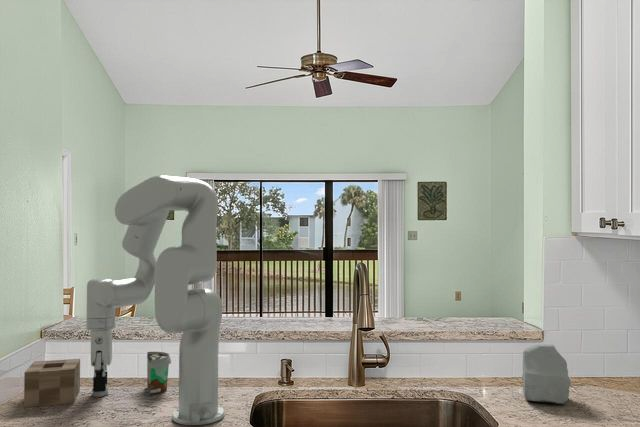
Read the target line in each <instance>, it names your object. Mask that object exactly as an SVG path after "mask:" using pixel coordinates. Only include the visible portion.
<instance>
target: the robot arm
mask: <svg viewBox="0 0 640 427" xmlns="http://www.w3.org/2000/svg"><path fill="white" fill-rule="evenodd" d="M170 211H185V212H188V213H187V215H186V216H185V218H184V220H183V222H182V226H181V244H180V245H173V246H169V247H167V248H165V249H163V251H161V252H160V254H159V255H158V257H157V259H156V258H155V255H154V252H155V249H156V246H157V244H158V241H159V239H160V236H161V234H162V231H163V229H164V226H165V224H166V222H167V219H168V217H169V213H170ZM218 213H219V200H218V196H217V193H216V191H215V189H214V188H213V187H212V186H211V185H210V184H209V183H207V182H205V181H204V180H200V179H197V178H194V177H193V178H192V177H184V176H173V175H172V176H171V175H162V174H161V175H154V176H151V177H149V178H147V179H145V180H143V181H142V182H140V183H137V184H136V185H135V186H132V187H131V188H129V189H128V190H126V191H125V192H124V193H122V194H121V195H120V196H119V198H118V199H117V201H116V203H115V206H114V216H115V218H116V220H117V221H118V222H119V223H120V224H122V225H125V226H127V229H126V232H125V234H124V237H123V238H122V241H121V247H122V248H123V249H124V251H125V252H127V253H128V254H129V255H131V256H133V257H135V258H138V266H137V267H138V268H137V269H136V270H137V271H136V272H135V275H134V277H129V278H120V279H112V278H92V279H89V280H88V281H87V285H86V330H87V331H90V365H91V367H93V377H92V378H93V379H92V381H93V382H92V385H93V386H92V389H93V391H92V393H93V392H101V391H105V390H106V385H107V386H108V370H107V369H106V371H105V367H106V368H108V367H109V366H110V365H111V363H112V361H113V335H112V334H113V332H112V330H113V329H116V309H117V308H123V307H129V306H135V305H140V304H142V303H144V302H146V300H147V299H148V298H149V297H150V295H151V293H152V291H153V289H154V315H155V320H156V322H157V326H158V327H159V328H160V329H161V331H163V332H164V333H168V334H179V333H182V334H181V337H180V342H179V347H178V348H179V350H178V352H179V354H178V355H179V356H178V408H177V409H175V410H174V411H173V412H172V414H171V418H172V421H174V422H175V423H177V424H179V425H184V426H202V425H203V426H204V425H209V424H214V423H216V422H218V421H220V420H222V419H223V418H224V416H225V409H224V408H222V407H221V406H220V405H219V347H220V346H219V344H220V343H219V340H220V329H221V323H222V318H223V310H224V309H223V307H224V306H223V302H222V299H221V297H220V295H219V293H217V292H216V291H214V290H213V289H211V288H206V287H205V288H204V287H202V288H199V287H198V288H193V289H189V286H191V285H196V284H202V283H206V282H209V281H211V280H212V279H213V278H215V275H216V273H217V265H218V263H217V262H218V261H217V260H218V259H217V254H218V252H217V248H218V247H217V244H218V242H217V241H218V240H217V238H218V237H217V221H218ZM107 366H108V367H107ZM102 367H103V370H102V369H101V368H102ZM105 374H106V375H105Z"/></svg>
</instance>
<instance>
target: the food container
mask: <svg viewBox="0 0 640 427" xmlns="http://www.w3.org/2000/svg"><path fill="white" fill-rule="evenodd" d="M146 353H147V355H146V359H147V362H146V363H147V364H146V365H147V366H146V367H147V368H146V370H147V371H146V372H147V377H146V378H147V380H146V383H147V385H146V386H147V391H148V390H149V391H148V394H149V396H150V397H153V395H154V396H159V395H161V394H164V393H165V392H167V390H168V377H169V365H170V364H171V363H172V359H171V355H170V354H169V353H167V352H165V351H164V352H162V351H146ZM158 394H159V395H158Z"/></svg>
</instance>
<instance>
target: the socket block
mask: <svg viewBox="0 0 640 427" xmlns="http://www.w3.org/2000/svg"><path fill="white" fill-rule="evenodd" d="M23 375H24V376H23V378H24V379H23V381H24V383H23V384H24V386H23V388H24V390H23V394H24V395H23V408H30V407H32V408H33V407H34V408H35V407H42V406H55V405H68V404H74V403H75V402H76V400H77V398H78V395H79V394H80V390H81V358H71V359H70V358H69V359H55V360H54V359H53V360H38V361H33V362H32V363H31V364H30V366H28V367H27V369H26V370H25V371H24V374H23Z"/></svg>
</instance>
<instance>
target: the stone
mask: <svg viewBox="0 0 640 427" xmlns="http://www.w3.org/2000/svg"><path fill="white" fill-rule="evenodd" d="M571 385H572V381H571V379H570V376H569V369H568V364H567V360H566V359H565V358H564V357H563V356H562V355H561V354H560V353H559V351H558V350H557V348H556V347H555V344H551V343H548V344H546V343H536V344H534V345H531V346H528V347H526V348H524V349H523V350H522V390H523V395H524V398H525V401H528V402H530V401H531V402H539V403H547V404H549V403H550V404H551V403H552V404H559V405H560V404H561V405H564V404H566V402H567V401H568V400H569V396H570V388H571Z"/></svg>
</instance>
